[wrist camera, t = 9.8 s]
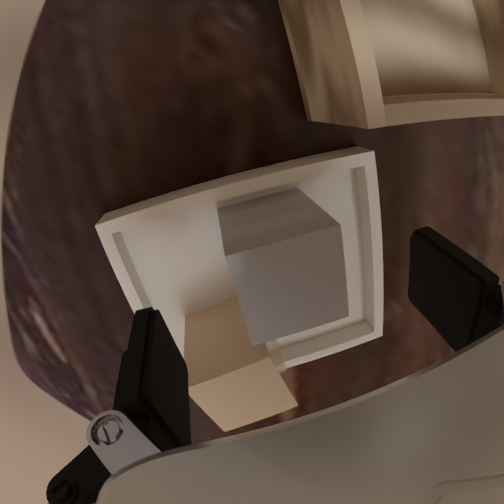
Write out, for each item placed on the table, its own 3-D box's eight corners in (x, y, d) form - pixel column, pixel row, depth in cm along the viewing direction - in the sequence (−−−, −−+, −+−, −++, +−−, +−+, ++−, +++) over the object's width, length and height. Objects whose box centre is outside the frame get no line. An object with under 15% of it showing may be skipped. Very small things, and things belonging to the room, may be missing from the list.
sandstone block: (276, 338, 22) (298, 405, 16) (217, 363, 22) (224, 431, 16) (250, 289, 20) (269, 356, 14) (185, 317, 20) (183, 389, 14)
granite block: (310, 258, 19) (349, 316, 14) (237, 279, 19) (252, 345, 14) (297, 187, 17) (340, 224, 12) (216, 208, 17) (224, 256, 12)
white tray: (371, 320, 23) (382, 335, 21) (179, 374, 23) (179, 394, 21) (357, 146, 17) (374, 150, 16) (104, 213, 17) (94, 225, 15)
